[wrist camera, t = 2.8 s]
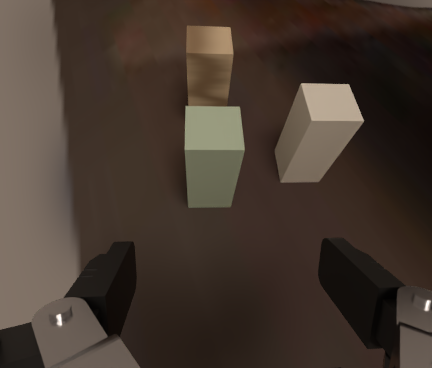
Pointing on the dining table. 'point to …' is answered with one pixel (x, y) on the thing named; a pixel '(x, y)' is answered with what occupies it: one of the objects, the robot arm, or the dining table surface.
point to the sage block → (212, 154)
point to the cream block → (316, 131)
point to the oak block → (209, 65)
